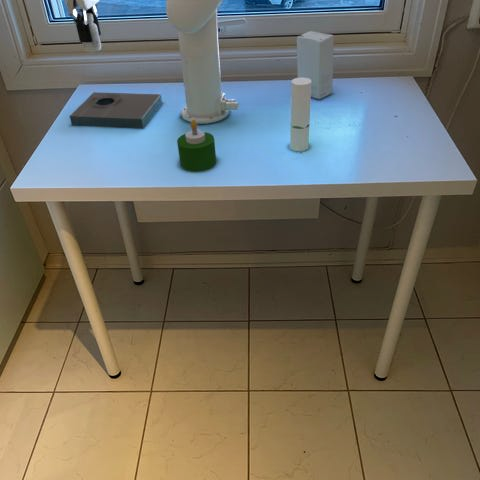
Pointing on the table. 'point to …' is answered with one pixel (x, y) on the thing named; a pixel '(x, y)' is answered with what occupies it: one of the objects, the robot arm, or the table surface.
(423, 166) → the table surface
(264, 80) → the table surface
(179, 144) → the candle
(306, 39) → the cosmetic box
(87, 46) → the pill bottle
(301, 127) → the tube
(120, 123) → the plate
